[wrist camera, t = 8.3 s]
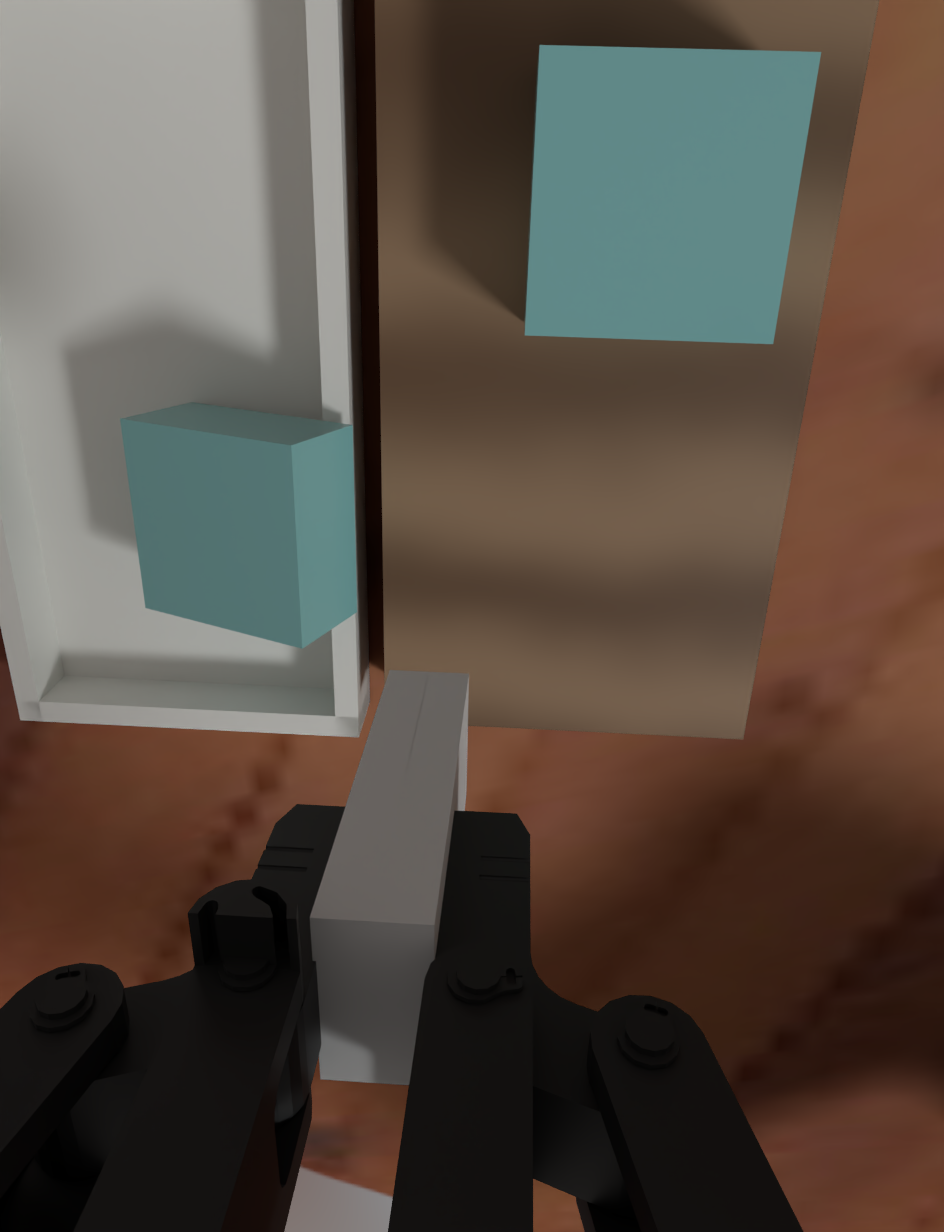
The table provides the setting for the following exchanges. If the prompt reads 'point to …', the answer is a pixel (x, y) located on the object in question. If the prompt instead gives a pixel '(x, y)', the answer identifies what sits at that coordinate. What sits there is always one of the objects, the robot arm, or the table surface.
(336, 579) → the tile
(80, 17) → the tray
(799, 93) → the tile
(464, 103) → the board
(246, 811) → the table surface
